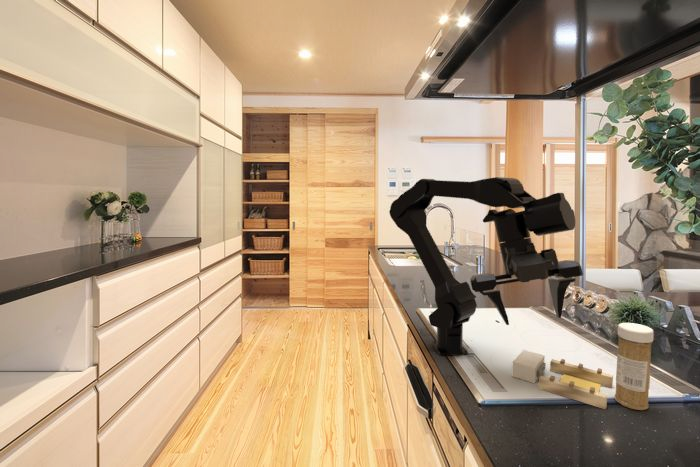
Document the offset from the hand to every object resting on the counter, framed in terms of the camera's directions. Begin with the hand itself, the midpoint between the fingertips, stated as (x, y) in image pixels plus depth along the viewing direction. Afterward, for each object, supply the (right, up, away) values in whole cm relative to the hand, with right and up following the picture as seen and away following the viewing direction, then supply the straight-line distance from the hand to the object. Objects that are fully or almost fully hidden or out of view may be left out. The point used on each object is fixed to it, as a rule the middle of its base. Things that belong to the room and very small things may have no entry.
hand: (532, 321), depth 66 cm
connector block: (+1, -11, +4) cm, 12 cm away
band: (+7, -12, -2) cm, 14 cm away
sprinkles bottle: (+13, -12, -7) cm, 19 cm away
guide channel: (+7, -12, -2) cm, 14 cm away
